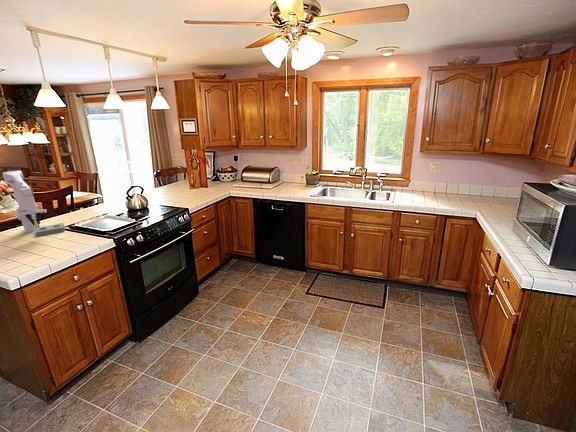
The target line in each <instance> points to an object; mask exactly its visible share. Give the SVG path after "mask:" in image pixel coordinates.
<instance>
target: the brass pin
mask: <svg viewBox="0 0 576 432" xmlns="http://www.w3.org/2000/svg"><path fill="white" fill-rule="evenodd" d="M33 223H34V226H35V228H38V227H41V226H40V224H38V220H37V217H35V218H34V219H33Z"/></svg>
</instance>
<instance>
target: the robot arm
mask: <svg viewBox="0 0 576 432" xmlns="http://www.w3.org/2000/svg"><path fill="white" fill-rule="evenodd" d="M2 178H3V180H4V183H5V184H6V185H8V186H10V188H11V189H12V191H13V194H14V197H15V200H16V202H17V205H18V207H17V208H16V209H15V214H16V218H17V219H18V220H19V221H21V223H22V226H23V229H24V230H23V233H24V234H26V233H30V232H31V233H32V232H36V228H35V226H34V223H33V219H34V218H37V220H38V224H39V225H41V214H44V213H47V209H46V208H45V209H38V208H37V204H36V201H35V197H34V195H35V194H34V190H33V188H32V186H29V185H28V184H27V183H26V182H25V181H24V174H23V171H21V170H20V169H19V170H12V171H11V170H10V171H4V172H2Z"/></svg>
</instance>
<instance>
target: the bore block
mask: <svg viewBox="0 0 576 432" xmlns="http://www.w3.org/2000/svg"><path fill="white" fill-rule="evenodd" d="M61 232H65V223H64V222H61V223H55V224H49V225H45V226H44V225H43V226H40V227H38V228H36V231H34V233H35V236H36V237H41V236H42V237H43V236H46V235H51V234H56V233H61Z"/></svg>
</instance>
